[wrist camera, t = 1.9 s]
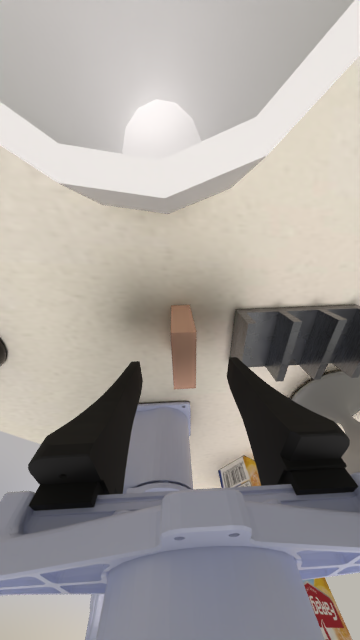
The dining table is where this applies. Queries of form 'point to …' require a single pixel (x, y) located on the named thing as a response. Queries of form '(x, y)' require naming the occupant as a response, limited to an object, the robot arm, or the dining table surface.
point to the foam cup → (163, 89)
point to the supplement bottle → (2, 353)
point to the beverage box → (317, 589)
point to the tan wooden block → (183, 347)
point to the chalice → (336, 408)
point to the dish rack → (298, 339)
